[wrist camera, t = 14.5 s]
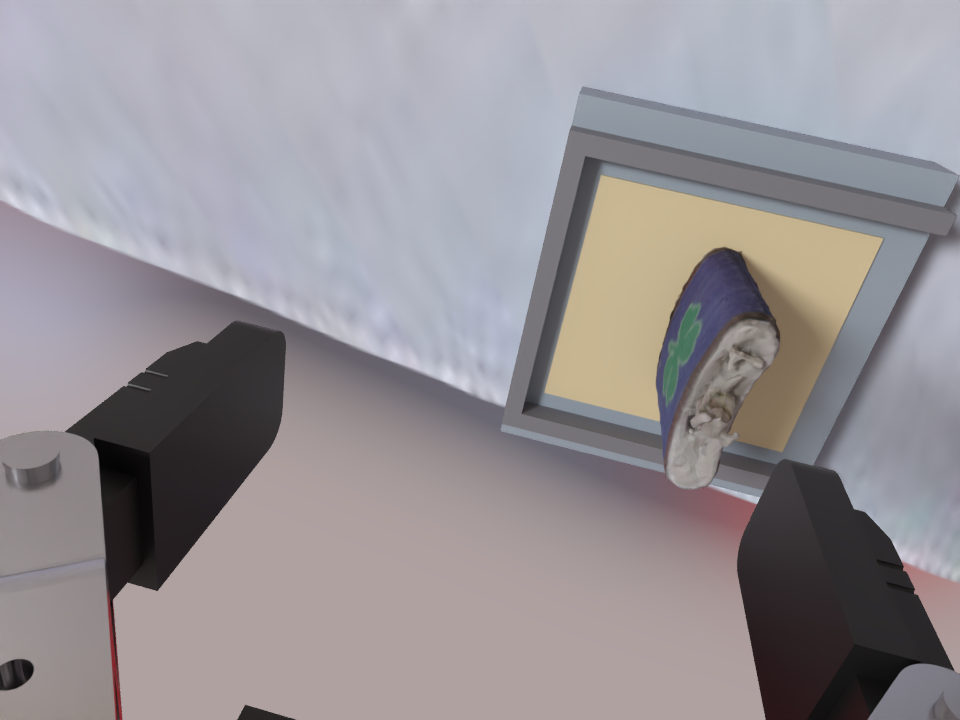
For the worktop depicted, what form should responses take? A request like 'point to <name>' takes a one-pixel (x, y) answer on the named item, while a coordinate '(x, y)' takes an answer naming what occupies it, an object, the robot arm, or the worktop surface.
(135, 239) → the worktop surface
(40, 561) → the robot arm
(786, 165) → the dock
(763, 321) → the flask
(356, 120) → the worktop surface
